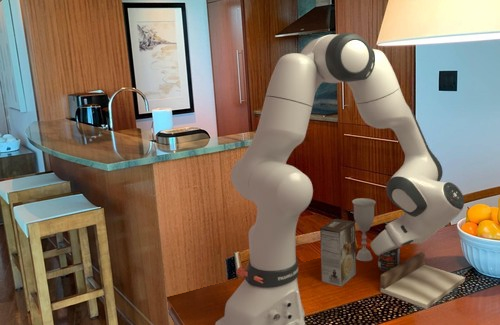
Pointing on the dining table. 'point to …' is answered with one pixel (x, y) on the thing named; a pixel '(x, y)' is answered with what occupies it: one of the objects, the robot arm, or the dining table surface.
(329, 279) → the coffee box
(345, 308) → the dining table surface
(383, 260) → the supplement bottle
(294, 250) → the robot arm
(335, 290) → the dining table surface
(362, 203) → the chalice
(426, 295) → the edge board
